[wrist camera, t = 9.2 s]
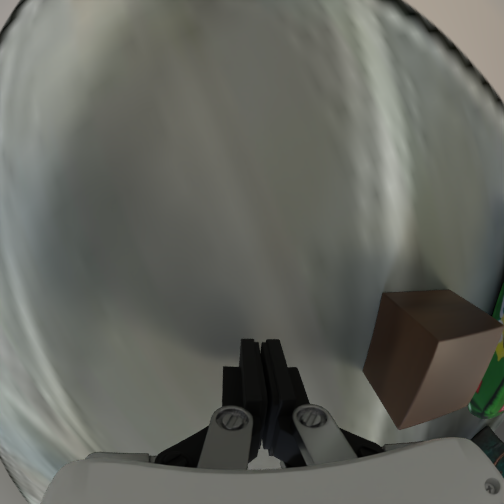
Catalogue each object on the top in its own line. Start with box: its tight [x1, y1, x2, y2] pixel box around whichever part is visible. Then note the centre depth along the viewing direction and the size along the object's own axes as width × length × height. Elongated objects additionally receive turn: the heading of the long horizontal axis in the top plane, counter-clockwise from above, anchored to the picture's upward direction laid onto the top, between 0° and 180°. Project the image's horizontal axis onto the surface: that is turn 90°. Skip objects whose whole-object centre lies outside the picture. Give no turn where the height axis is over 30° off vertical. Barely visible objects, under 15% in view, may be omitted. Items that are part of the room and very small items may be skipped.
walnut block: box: [363, 290, 504, 430], centre depth 12 cm, size 5×5×5 cm
